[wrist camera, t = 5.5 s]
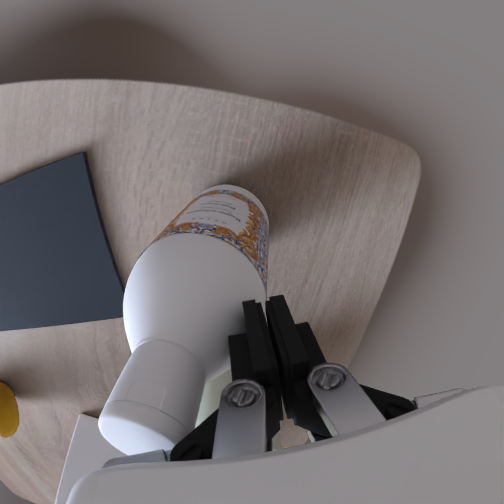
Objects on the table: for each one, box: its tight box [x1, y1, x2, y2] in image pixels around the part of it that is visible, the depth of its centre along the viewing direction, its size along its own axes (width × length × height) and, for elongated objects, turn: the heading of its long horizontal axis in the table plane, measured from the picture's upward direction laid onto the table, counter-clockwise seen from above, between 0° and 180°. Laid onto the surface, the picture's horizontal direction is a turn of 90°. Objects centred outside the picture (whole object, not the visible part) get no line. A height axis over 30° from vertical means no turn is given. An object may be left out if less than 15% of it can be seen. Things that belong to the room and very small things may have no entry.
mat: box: [0, 152, 125, 331], centre depth 24 cm, size 22×16×1 cm
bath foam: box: [98, 185, 269, 455], centre depth 16 cm, size 7×7×20 cm
